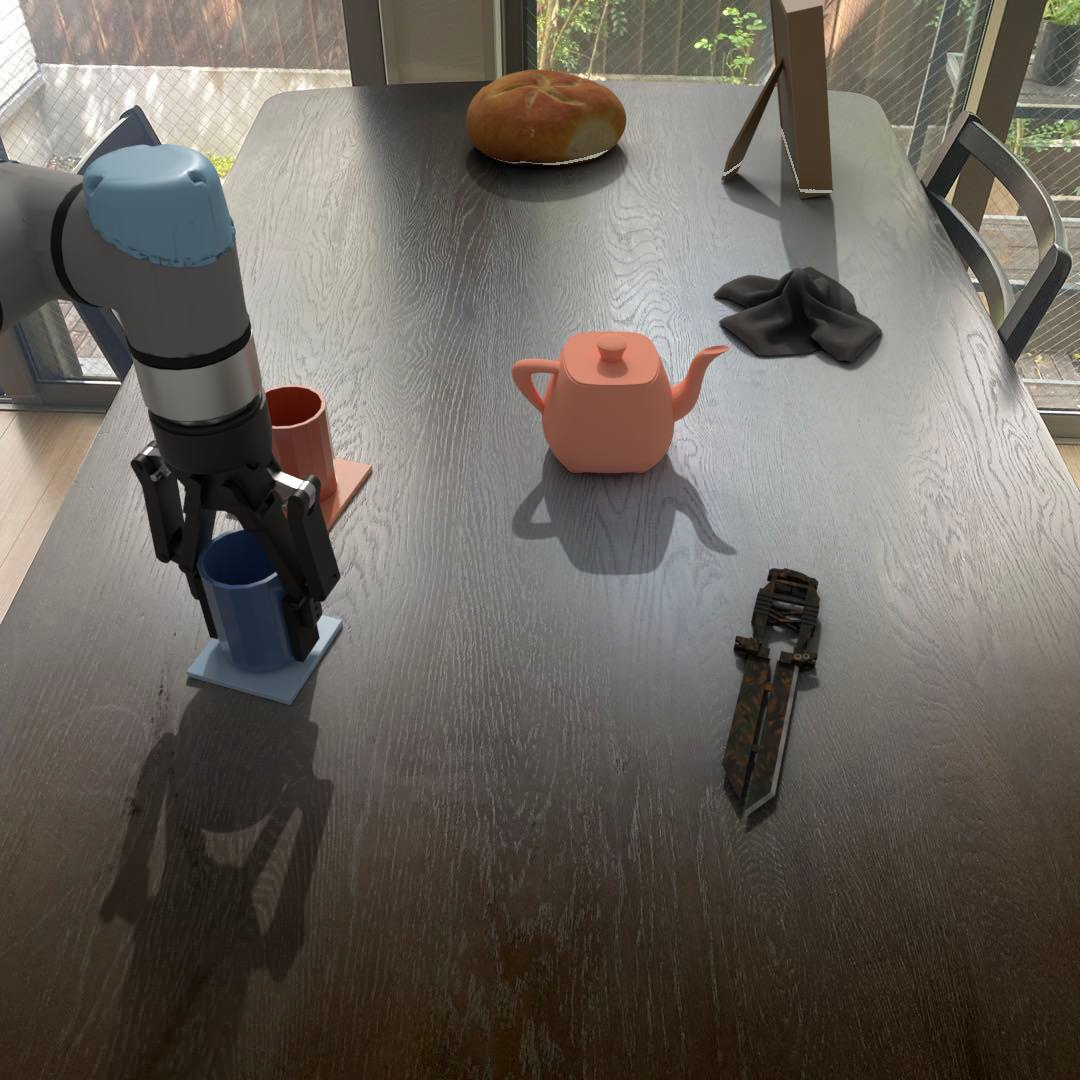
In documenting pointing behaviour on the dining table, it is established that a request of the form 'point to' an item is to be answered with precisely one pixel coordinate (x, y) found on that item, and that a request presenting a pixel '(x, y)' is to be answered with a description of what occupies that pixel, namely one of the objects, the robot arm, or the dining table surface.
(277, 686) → the blue pad
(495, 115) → the bread
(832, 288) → the cloth
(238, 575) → the blue cup
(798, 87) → the photo frame
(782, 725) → the knife
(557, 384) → the teapot
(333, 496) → the red pad
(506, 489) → the dining table surface
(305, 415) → the red cup
